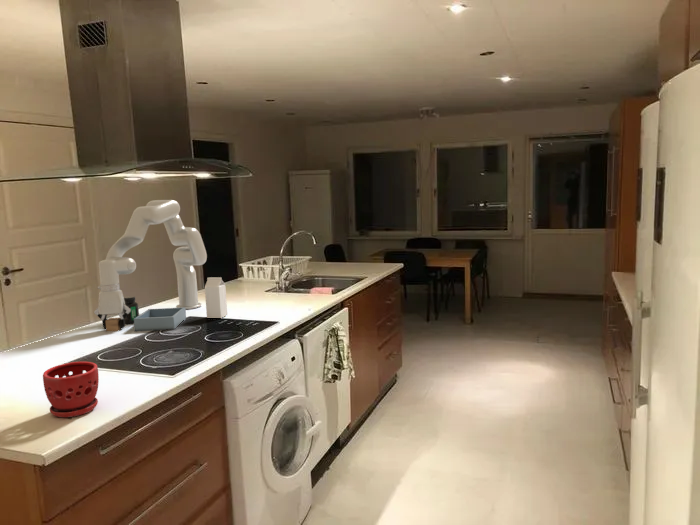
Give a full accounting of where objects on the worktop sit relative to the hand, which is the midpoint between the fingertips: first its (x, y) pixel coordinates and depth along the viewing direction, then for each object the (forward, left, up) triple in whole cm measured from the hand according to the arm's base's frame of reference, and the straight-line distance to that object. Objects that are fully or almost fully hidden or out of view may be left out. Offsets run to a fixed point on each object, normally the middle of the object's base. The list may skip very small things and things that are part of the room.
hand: (114, 327), depth 237 cm
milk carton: (-15, +42, -1) cm, 45 cm away
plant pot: (+94, +25, -1) cm, 97 cm away
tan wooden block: (0, 0, -1) cm, 1 cm away
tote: (-5, +19, -1) cm, 20 cm away
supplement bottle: (-13, +3, -1) cm, 13 cm away
